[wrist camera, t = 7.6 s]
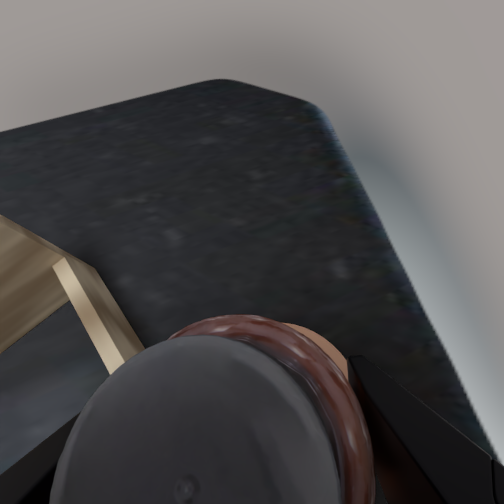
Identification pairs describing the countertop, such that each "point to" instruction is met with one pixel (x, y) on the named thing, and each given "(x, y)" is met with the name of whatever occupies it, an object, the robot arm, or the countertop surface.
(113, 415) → the supplement bottle
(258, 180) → the countertop surface
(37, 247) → the wooden bench
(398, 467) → the robot arm
